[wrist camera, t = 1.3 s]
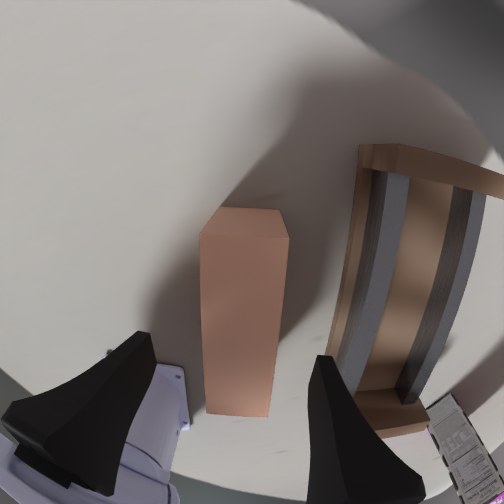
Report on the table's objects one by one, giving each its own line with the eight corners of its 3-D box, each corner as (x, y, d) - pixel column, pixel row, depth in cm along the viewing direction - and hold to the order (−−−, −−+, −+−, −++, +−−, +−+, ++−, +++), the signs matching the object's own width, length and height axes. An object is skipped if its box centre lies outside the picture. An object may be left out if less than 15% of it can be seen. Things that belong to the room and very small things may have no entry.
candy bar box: (466, 418, 28) (507, 497, 12) (438, 438, 29) (473, 520, 14) (452, 388, 25) (509, 489, 10) (418, 412, 26) (464, 519, 11)
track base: (403, 389, 25) (424, 430, 19) (313, 396, 25) (322, 445, 19) (467, 170, 18) (518, 180, 12) (359, 145, 18) (398, 143, 12)
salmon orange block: (266, 354, 23) (267, 417, 17) (218, 350, 24) (206, 413, 17) (279, 209, 20) (289, 238, 13) (219, 206, 20) (199, 233, 13)
